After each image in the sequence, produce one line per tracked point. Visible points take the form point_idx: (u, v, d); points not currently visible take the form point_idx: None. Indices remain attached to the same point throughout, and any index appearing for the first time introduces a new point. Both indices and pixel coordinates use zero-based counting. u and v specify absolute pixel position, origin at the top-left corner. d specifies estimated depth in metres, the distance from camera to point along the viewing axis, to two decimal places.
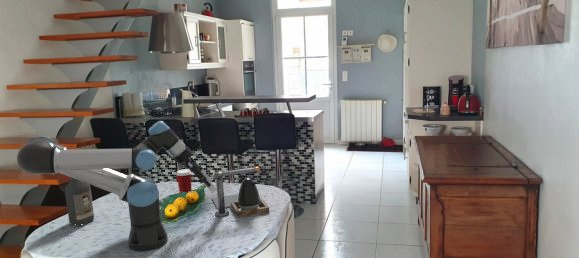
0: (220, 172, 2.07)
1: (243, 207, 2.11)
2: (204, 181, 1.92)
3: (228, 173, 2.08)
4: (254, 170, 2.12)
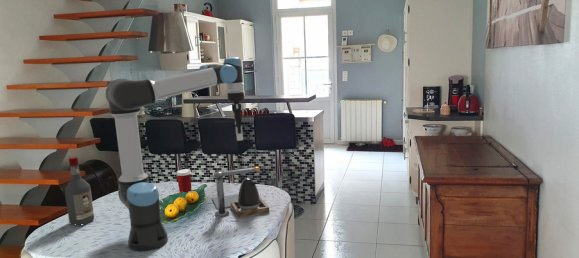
0: (220, 172, 2.07)
1: (243, 207, 2.11)
2: (238, 126, 2.05)
3: (228, 173, 2.08)
4: (254, 170, 2.12)
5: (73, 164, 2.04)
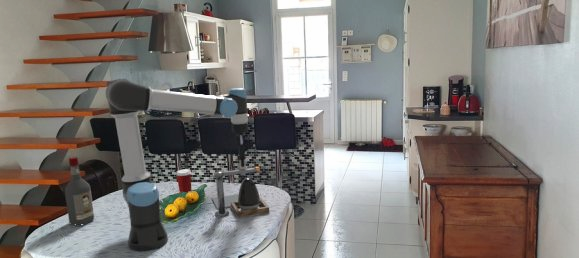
0: (220, 172, 2.07)
1: (243, 207, 2.11)
2: (241, 159, 2.09)
3: (228, 173, 2.08)
4: (254, 170, 2.11)
5: (73, 164, 2.04)
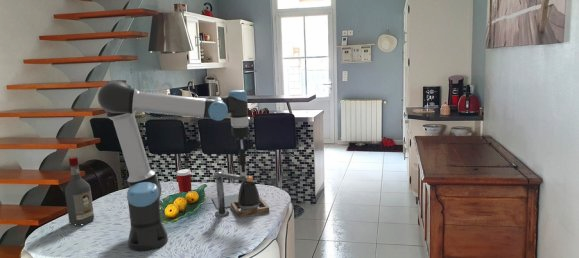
0: (219, 172, 2.07)
1: (243, 207, 2.11)
2: (242, 165, 2.00)
3: (224, 175, 2.04)
4: (245, 179, 1.98)
5: (73, 164, 2.04)
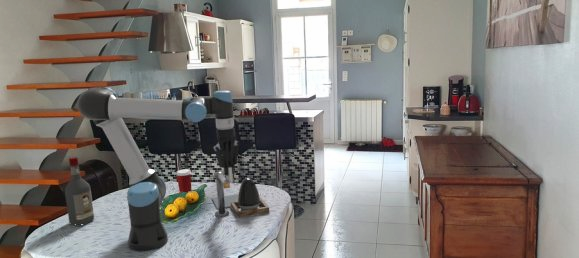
0: (218, 173, 2.07)
1: (243, 207, 2.11)
2: (224, 167, 1.95)
3: (218, 176, 2.03)
4: None
5: (73, 164, 2.04)
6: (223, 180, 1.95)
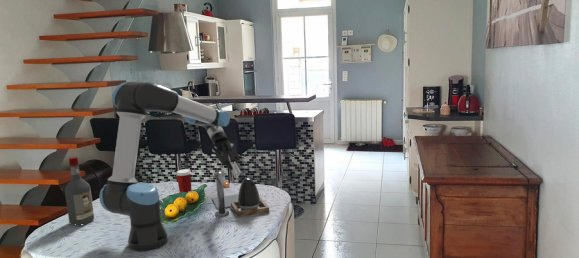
0: (218, 173, 2.07)
1: (243, 207, 2.11)
2: (226, 164, 2.20)
3: (218, 176, 2.03)
4: None
5: (73, 164, 2.04)
6: (223, 180, 1.95)
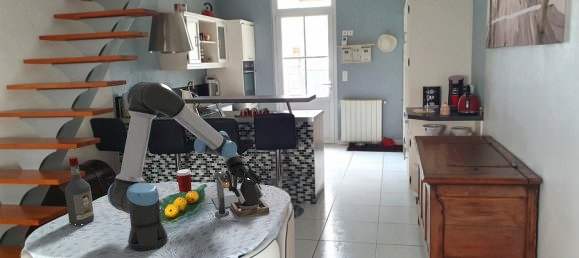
0: (218, 173, 2.07)
1: (243, 207, 2.11)
2: (233, 191, 2.10)
3: (218, 176, 2.03)
4: None
5: (73, 164, 2.04)
6: (223, 180, 1.95)
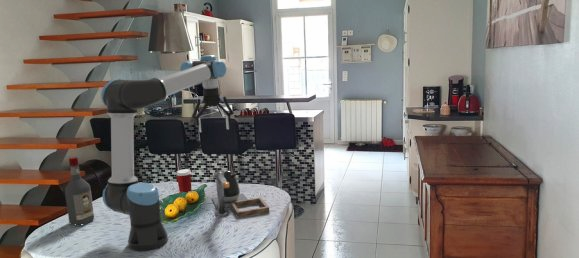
0: (218, 173, 2.07)
1: None
2: (195, 118, 2.24)
3: (218, 176, 2.03)
4: None
5: (73, 164, 2.04)
6: (223, 180, 1.95)
